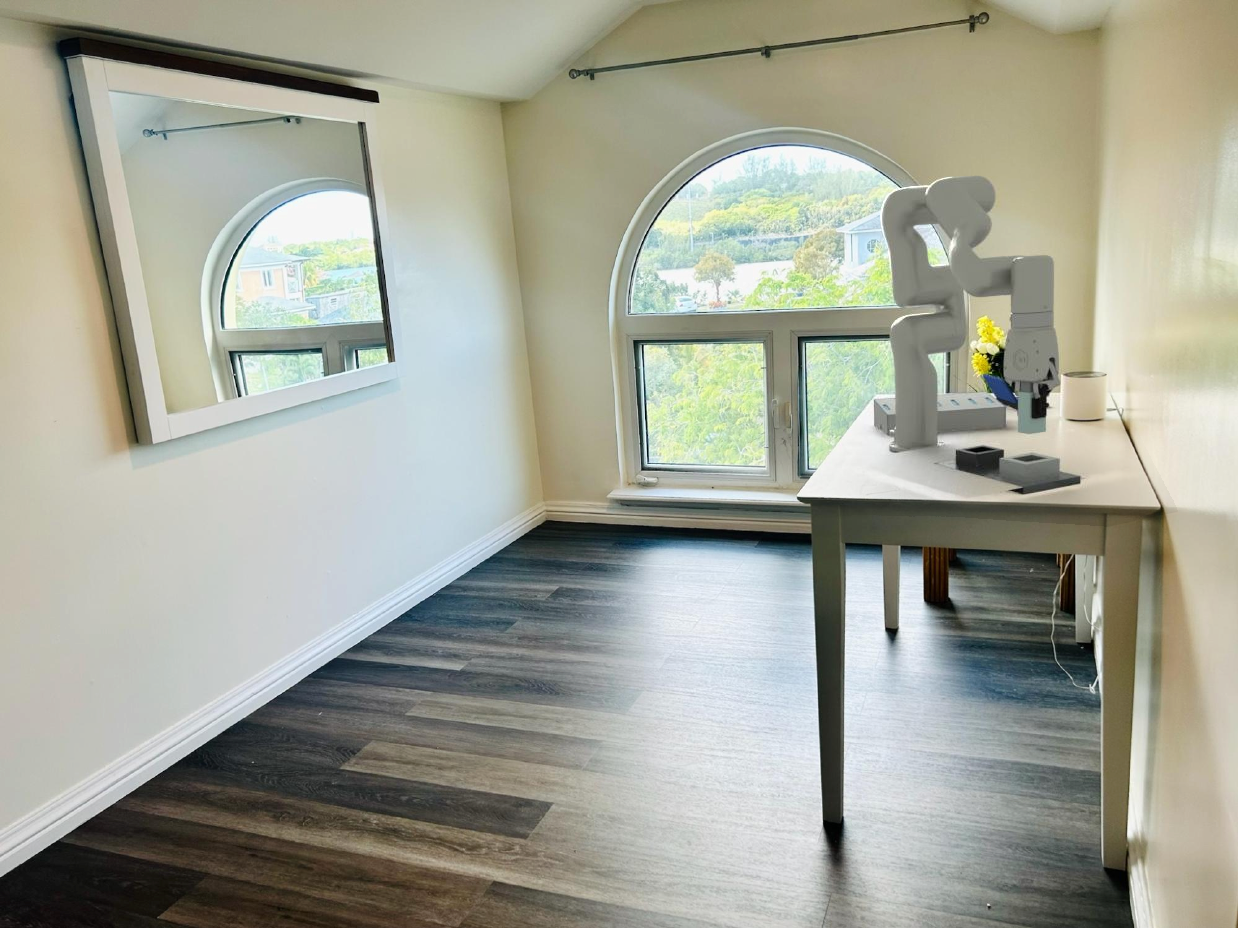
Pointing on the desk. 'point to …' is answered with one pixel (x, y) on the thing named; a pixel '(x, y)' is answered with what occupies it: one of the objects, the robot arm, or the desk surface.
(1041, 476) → the panel
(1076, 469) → the desk surface
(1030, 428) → the plug
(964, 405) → the grey slotted box
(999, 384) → the handheld game console
